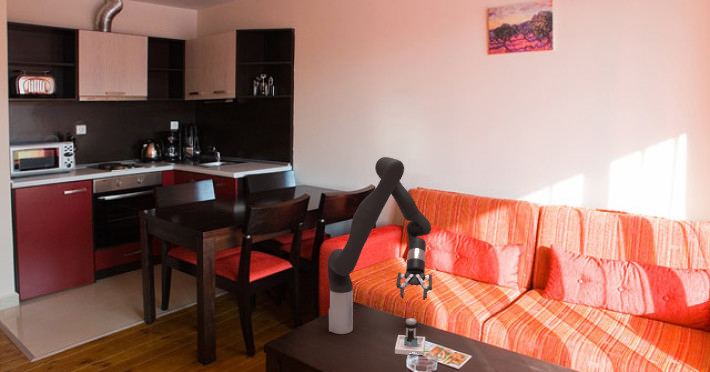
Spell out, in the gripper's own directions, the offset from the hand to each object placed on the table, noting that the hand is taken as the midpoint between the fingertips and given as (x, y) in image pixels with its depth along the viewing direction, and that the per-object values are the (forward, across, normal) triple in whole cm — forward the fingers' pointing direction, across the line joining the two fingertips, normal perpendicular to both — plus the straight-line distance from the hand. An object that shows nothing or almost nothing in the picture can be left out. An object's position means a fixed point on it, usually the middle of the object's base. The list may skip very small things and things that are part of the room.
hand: (413, 298), depth 213 cm
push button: (+18, +1, +3) cm, 18 cm away
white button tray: (+19, 0, +3) cm, 19 cm away
